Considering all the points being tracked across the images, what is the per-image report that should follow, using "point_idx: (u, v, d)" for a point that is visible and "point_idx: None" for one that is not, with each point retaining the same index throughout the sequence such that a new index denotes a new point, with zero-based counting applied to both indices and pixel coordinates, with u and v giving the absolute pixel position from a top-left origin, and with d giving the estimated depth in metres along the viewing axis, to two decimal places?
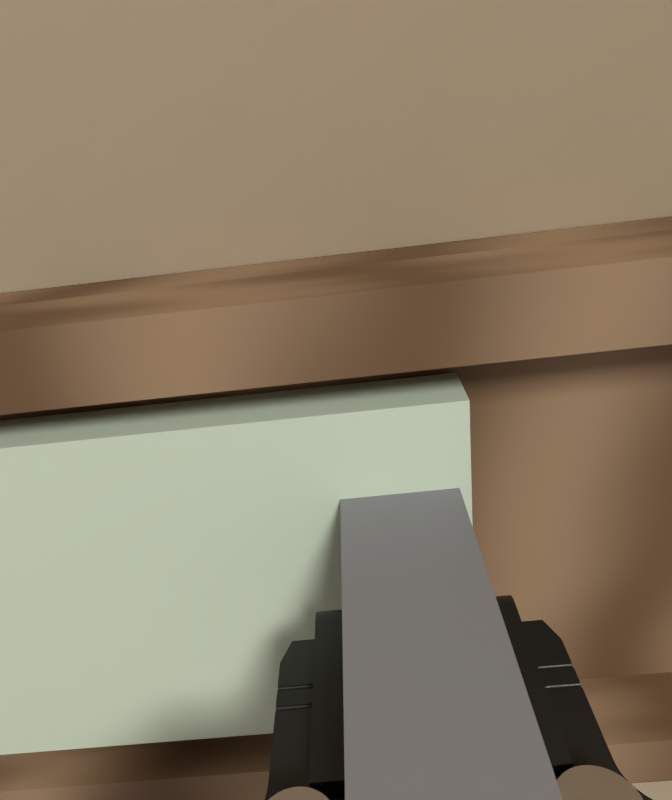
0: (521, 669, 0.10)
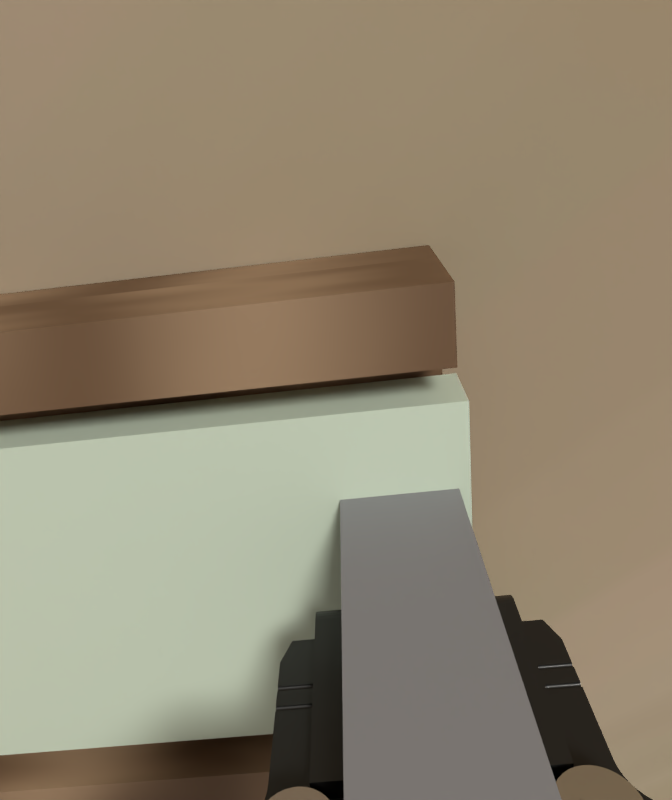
0: (521, 669, 0.10)
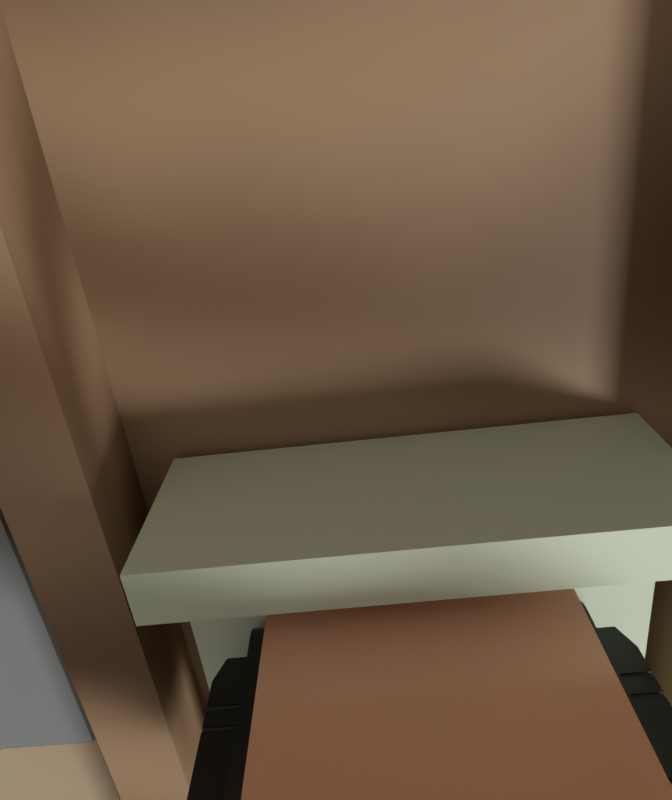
0: None
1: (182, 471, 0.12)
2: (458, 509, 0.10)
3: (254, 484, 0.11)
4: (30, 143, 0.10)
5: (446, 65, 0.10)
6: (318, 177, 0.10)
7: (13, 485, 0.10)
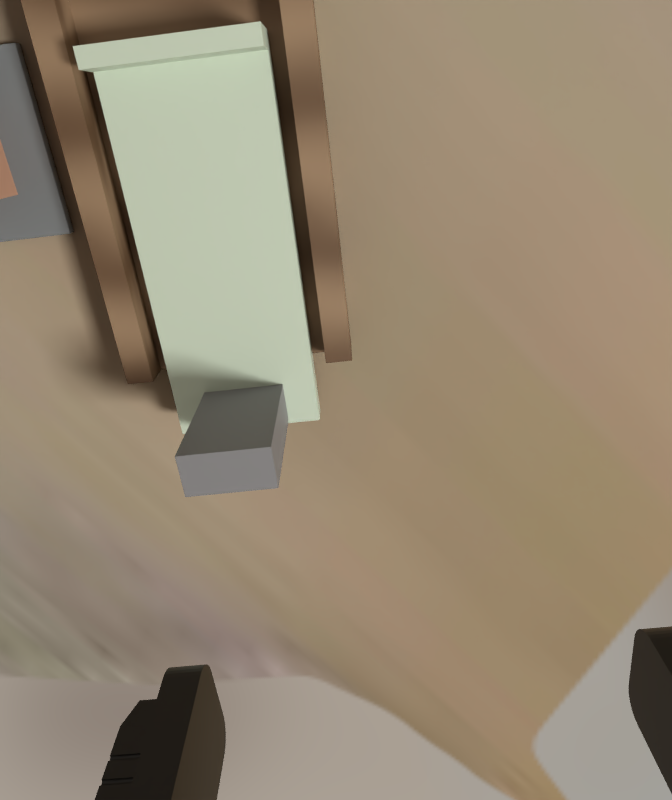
0: None
1: None
2: None
3: None
4: None
5: None
6: None
7: (37, 36, 0.31)
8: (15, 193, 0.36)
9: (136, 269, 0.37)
